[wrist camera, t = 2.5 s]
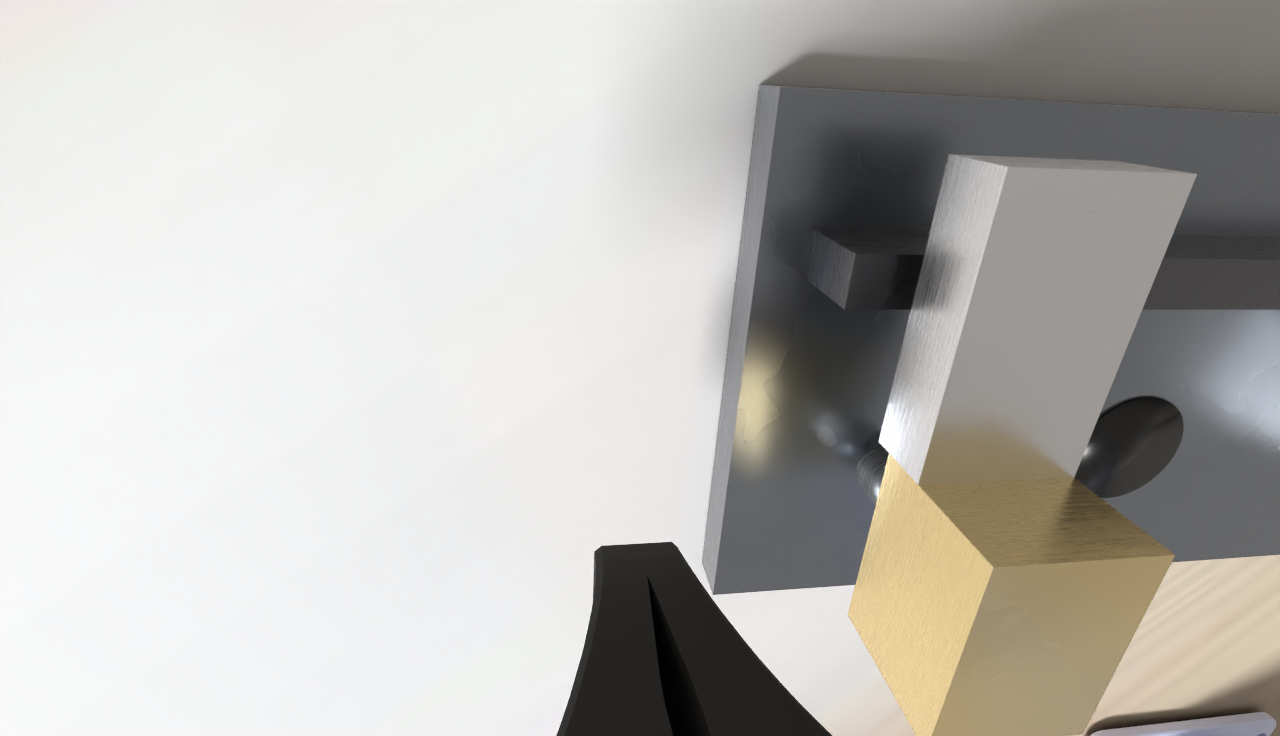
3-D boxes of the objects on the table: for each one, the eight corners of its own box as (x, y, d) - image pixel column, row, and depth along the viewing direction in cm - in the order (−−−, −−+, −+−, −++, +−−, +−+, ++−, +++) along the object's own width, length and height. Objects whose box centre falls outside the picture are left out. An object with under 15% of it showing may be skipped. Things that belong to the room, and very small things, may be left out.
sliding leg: (918, 532, 16) (1082, 733, 11) (804, 539, 16) (926, 752, 11) (1032, 146, 12) (1358, 200, 7) (885, 141, 12) (1131, 193, 7)
